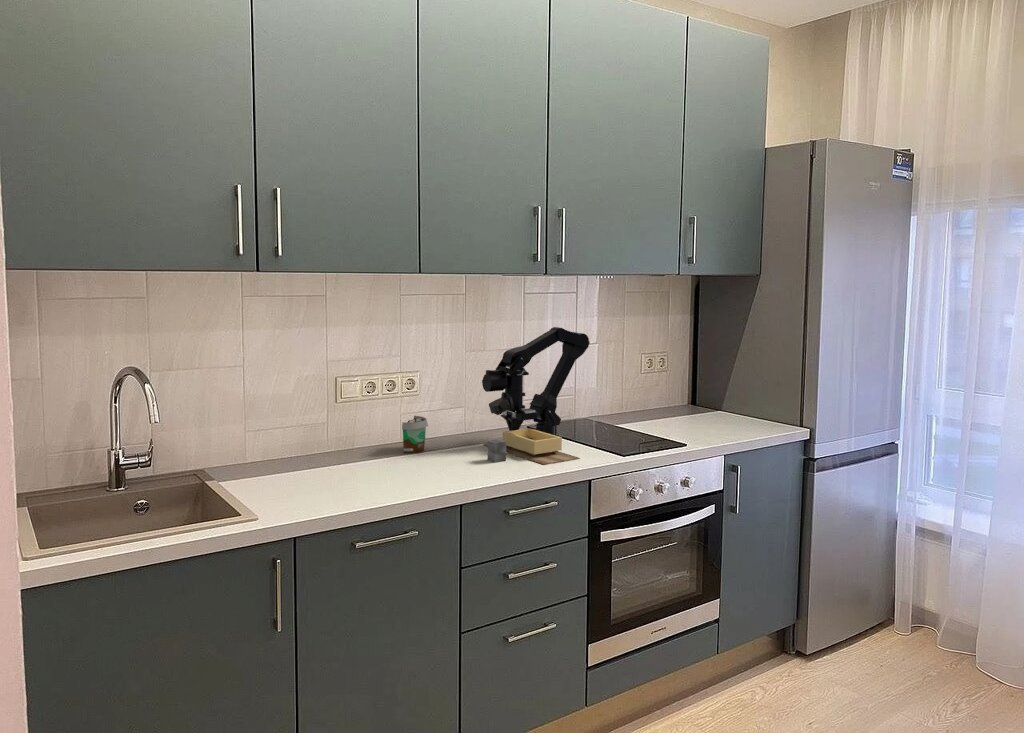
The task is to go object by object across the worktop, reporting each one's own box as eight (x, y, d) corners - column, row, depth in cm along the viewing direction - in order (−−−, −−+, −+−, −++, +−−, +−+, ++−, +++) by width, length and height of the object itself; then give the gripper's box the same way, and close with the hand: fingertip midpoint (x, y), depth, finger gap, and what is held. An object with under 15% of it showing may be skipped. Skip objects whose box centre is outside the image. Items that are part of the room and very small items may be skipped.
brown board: (517, 439, 281) (517, 438, 281) (579, 458, 256) (579, 457, 256) (482, 444, 273) (482, 443, 273) (543, 465, 247) (543, 464, 247)
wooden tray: (529, 443, 273) (529, 428, 272) (561, 453, 260) (561, 437, 259) (502, 447, 267) (502, 431, 266) (534, 458, 254) (534, 441, 253)
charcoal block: (498, 458, 255) (498, 439, 254) (506, 461, 252) (506, 441, 251) (487, 460, 252) (487, 440, 252) (495, 462, 249) (495, 443, 248)
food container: (421, 455, 257) (421, 423, 255) (401, 454, 258) (401, 422, 257) (432, 447, 269) (432, 416, 267) (414, 445, 270) (414, 415, 269)
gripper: (476, 387, 272) (476, 434, 274) (509, 395, 257) (509, 445, 259) (505, 384, 278) (504, 430, 280) (538, 392, 263) (538, 441, 265)
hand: (513, 437), depth 271 cm, fingers closed
